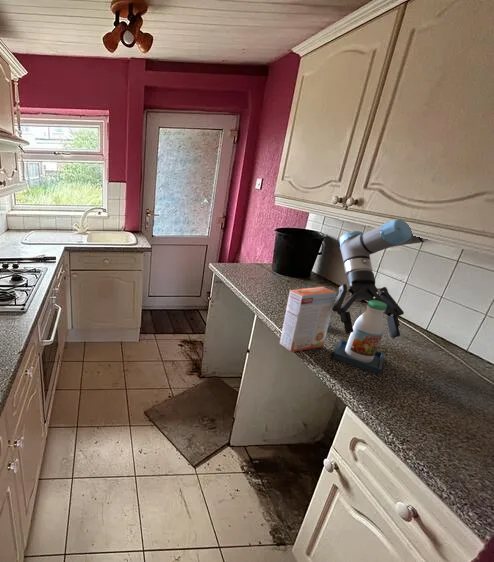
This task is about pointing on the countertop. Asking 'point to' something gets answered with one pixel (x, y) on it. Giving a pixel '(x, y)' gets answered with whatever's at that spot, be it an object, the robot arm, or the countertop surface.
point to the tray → (372, 366)
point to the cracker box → (307, 318)
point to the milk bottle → (367, 333)
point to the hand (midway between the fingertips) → (372, 334)
